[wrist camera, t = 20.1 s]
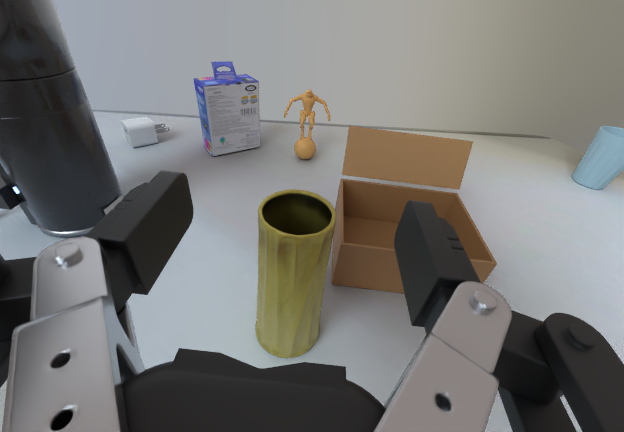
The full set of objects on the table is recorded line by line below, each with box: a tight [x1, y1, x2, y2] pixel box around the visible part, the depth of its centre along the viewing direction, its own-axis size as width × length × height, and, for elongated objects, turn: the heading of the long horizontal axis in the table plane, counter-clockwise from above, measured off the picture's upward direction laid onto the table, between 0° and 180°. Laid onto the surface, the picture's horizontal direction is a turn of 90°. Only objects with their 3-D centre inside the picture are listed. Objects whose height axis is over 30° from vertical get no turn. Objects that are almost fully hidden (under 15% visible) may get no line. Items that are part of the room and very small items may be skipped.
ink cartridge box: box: [194, 62, 260, 156], centre depth 52 cm, size 10×6×14 cm, turn 126°
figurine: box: [284, 89, 330, 159], centre depth 53 cm, size 8×6×12 cm
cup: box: [572, 126, 624, 190], centre depth 56 cm, size 8×8×10 cm
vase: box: [255, 189, 336, 358], centre depth 24 cm, size 6×6×14 cm
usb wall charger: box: [121, 117, 169, 148], centre depth 54 cm, size 4×7×4 cm, turn 131°
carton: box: [332, 179, 497, 293], centre depth 36 cm, size 16×13×6 cm
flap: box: [342, 126, 473, 189], centre depth 37 cm, size 16×6×1 cm
